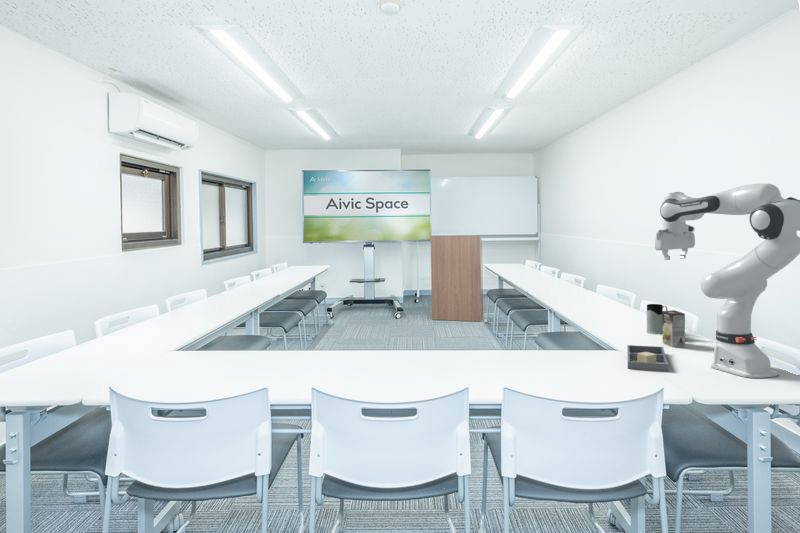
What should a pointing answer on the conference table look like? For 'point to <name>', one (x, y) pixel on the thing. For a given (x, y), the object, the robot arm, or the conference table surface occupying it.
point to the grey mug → (654, 318)
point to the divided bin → (647, 365)
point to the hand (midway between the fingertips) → (675, 259)
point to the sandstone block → (646, 357)
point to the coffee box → (673, 328)
